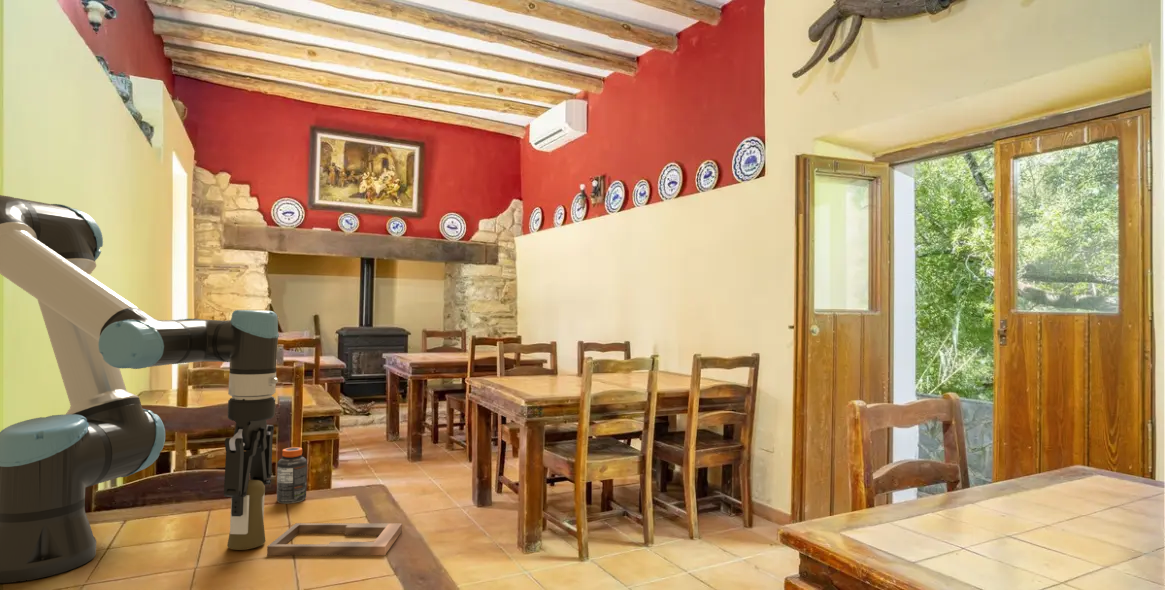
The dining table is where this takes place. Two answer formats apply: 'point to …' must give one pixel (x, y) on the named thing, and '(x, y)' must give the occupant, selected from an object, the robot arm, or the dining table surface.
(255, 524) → the olive rounded upright piece
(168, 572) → the dining table surface
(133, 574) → the dining table surface
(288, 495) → the pill bottle
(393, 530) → the keyhole board
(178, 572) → the dining table surface
